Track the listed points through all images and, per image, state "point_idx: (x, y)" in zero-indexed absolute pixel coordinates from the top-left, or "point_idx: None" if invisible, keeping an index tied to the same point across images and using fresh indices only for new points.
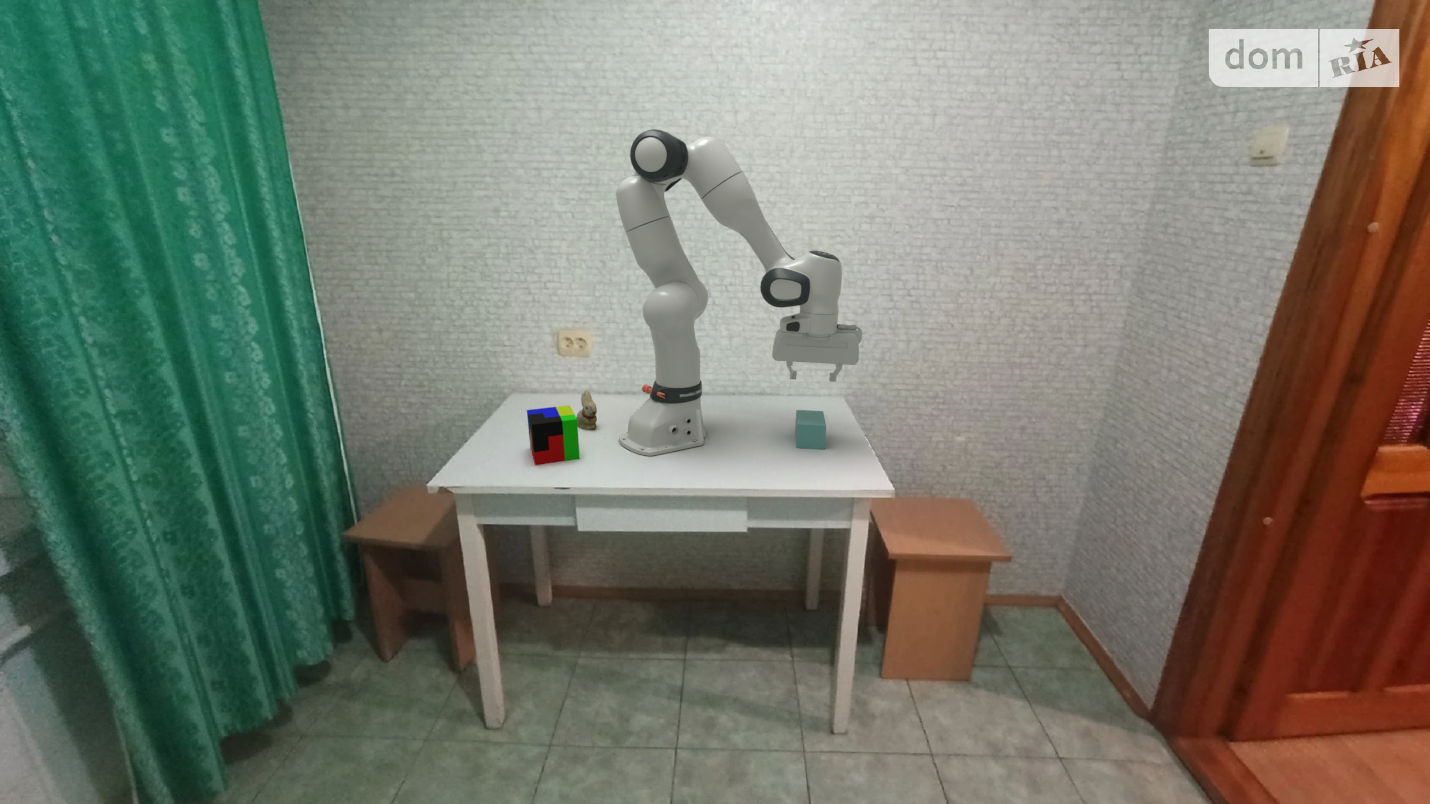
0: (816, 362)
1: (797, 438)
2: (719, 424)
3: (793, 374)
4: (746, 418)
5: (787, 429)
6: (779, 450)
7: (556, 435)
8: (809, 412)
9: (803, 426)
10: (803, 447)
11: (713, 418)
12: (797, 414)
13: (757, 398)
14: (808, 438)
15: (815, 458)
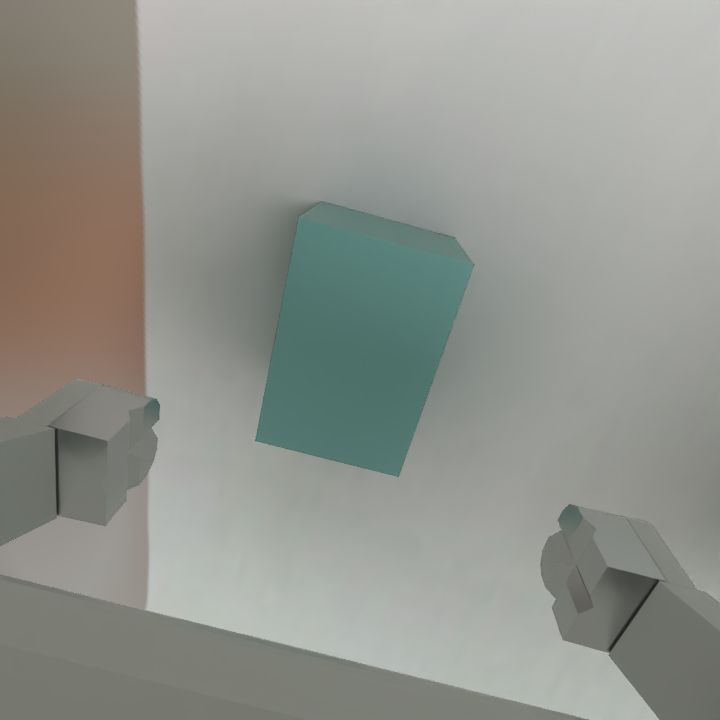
0: (313, 654)
1: (458, 245)
2: (689, 531)
3: (642, 555)
4: None
5: (419, 443)
6: (548, 221)
7: None
8: (337, 432)
9: (436, 253)
10: (420, 229)
11: None
12: (416, 414)
13: None
14: (400, 231)
15: (402, 89)
